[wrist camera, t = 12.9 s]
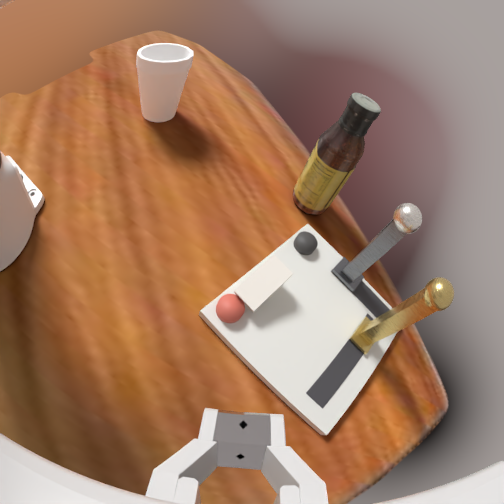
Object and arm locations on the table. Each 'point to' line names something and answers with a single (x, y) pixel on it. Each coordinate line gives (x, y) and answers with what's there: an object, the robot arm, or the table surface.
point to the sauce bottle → (335, 156)
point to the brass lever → (404, 314)
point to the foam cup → (162, 78)
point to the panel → (304, 331)
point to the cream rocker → (263, 283)
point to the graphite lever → (379, 245)
